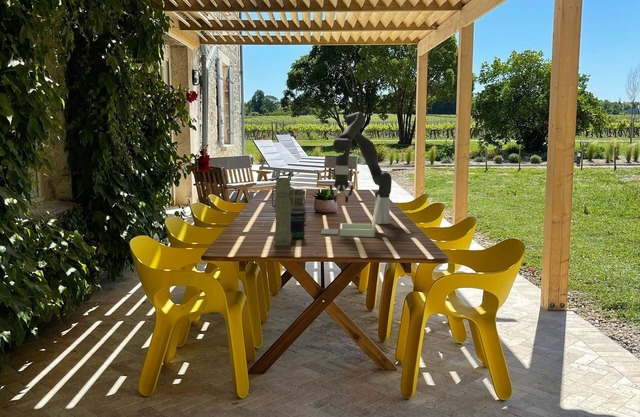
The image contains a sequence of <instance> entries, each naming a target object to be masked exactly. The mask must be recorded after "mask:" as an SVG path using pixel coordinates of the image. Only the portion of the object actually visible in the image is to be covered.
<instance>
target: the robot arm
mask: <svg viewBox="0 0 640 417" xmlns="http://www.w3.org/2000/svg"><path fill="white" fill-rule="evenodd" d="M345 123H346V125H347V127H346V128H345V129H344V130H343V131H342V133H341V134H340V135H338V136H337V137H336V138H335V139H334V141H333V143H332V146H333V149H334V150H335V151H339V152H343V154H339V155H336V156H335V169H334V170H335V172H334V183H332V184H329V191H330V195H331V196H333V201H334V203H335V204H336V203H337V195H336V194H337V193H339V192H344V193H345V194H346V202H345V204H347V203H348V202H349V196H352V193H353V190H354V184H349V157H350V153H351V150H352V147H353V143H352V141H353V139H354V140H355V142H356V144H357V146H358V148H359V151H360V154H361V155H362V156H363V157H362V158H363V159H364V161H365V163H366V165H367V168H368V169H369V173H370V176H371V179H372V181H373V183H374V184H375V185H376V186H378V190H377V191H376V192H375V193H374V206H375V205H376V200H377V195H379V196H380V198H381V200H380V205H379V209H378V214H377V219H376V224H375V225H389V224H390V194H391V191H392V178H393V177H392V175H391V174H390V173H389V172H387V171H383V170H382V169H381V167H380V164H379V161H378V158H379V157H378V156H379V155H378V154H379V153H378V151H377V147H375V144H374V143H373V141H371V140H370V139H369V138H367V137H366V136H365V135H363V134H362V133H361V131H360V130H361V129H362V128H363V127H364V125H365V124H366V116H365V114H364V113H363V112H361V111H357V112H354V113H351V114H348V115H346V116H345ZM334 187H335V191H334V190H333V188H334ZM348 187H349V193H348V190H347V189H348Z"/></svg>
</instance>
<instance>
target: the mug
mask: <svg viewBox="0 0 640 417" xmlns="http://www.w3.org/2000/svg"><path fill="white" fill-rule="evenodd" d="M294 190H295V199H294V207H292V211H304V212H306V190H303V189H294ZM290 196H291V201H292V205H293V190H292V189H291V193H290Z"/></svg>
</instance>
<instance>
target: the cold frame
mask: <svg viewBox="0 0 640 417" xmlns="http://www.w3.org/2000/svg"><path fill="white" fill-rule="evenodd" d="M380 200H381V198H380V196H379V195H377V200H376V205H375V204H374V211H373V216H372V220H371V223H345V222H343V223H341V222H340V226H339V237H367V238H369V237H370V238H373V237H374V238H376V225H377V224H376V219H377V214H378V209H379V205H380Z"/></svg>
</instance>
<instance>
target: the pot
mask: <svg viewBox="0 0 640 417" xmlns="http://www.w3.org/2000/svg"><path fill="white" fill-rule="evenodd" d="M336 196H337V197H336V203H335V204H336V207H339V206H340V207H345V206H346V194H345V192H337V194H336Z"/></svg>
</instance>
